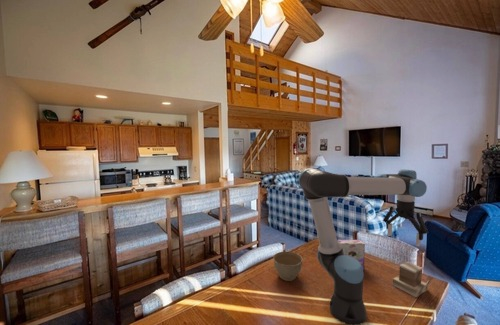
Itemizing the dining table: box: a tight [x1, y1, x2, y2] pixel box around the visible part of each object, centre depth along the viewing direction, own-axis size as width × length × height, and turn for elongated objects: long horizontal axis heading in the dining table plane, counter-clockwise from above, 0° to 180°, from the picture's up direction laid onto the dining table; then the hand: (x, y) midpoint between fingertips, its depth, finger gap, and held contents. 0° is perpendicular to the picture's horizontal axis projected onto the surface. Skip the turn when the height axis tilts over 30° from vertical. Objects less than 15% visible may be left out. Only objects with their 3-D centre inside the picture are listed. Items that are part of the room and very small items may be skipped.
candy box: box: [337, 238, 366, 271], centre depth 135 cm, size 14×6×16 cm, turn 84°
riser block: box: [391, 275, 429, 298], centre depth 116 cm, size 11×11×4 cm
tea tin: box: [398, 261, 423, 287], centre depth 115 cm, size 7×7×8 cm
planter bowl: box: [273, 251, 303, 282], centre depth 127 cm, size 16×16×11 cm
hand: (403, 240), depth 116 cm, fingers open, 13 cm apart
